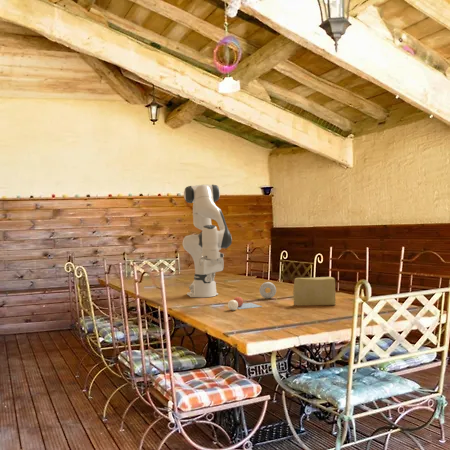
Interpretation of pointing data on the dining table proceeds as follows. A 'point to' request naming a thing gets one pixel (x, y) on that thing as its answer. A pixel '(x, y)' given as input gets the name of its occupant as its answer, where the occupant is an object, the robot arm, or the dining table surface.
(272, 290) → the donut
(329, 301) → the olive tan box
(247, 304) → the mark
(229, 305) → the cue ball
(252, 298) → the dining table surface
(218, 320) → the dining table surface
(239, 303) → the red ball
